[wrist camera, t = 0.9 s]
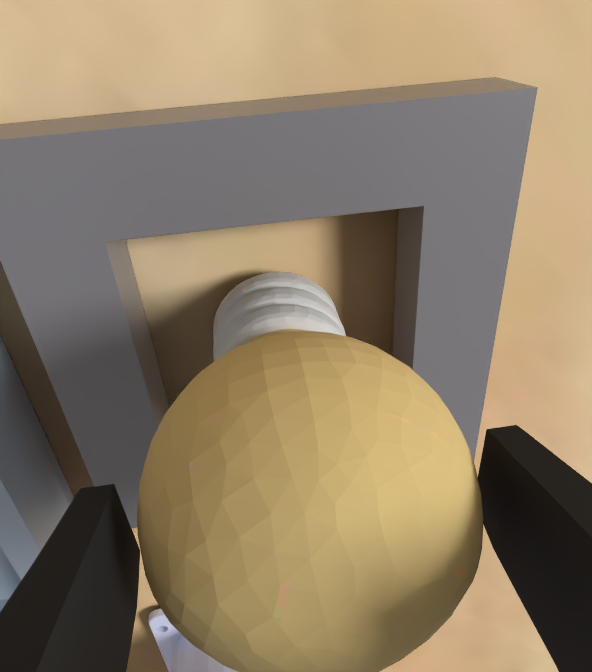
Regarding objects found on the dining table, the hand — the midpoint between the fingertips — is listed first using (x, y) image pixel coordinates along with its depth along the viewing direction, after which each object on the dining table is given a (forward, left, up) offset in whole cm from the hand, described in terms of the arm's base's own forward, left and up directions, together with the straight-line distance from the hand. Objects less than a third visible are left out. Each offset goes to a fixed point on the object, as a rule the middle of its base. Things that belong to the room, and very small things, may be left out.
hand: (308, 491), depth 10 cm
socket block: (0, 0, -7) cm, 7 cm away
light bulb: (0, 0, -7) cm, 7 cm away
